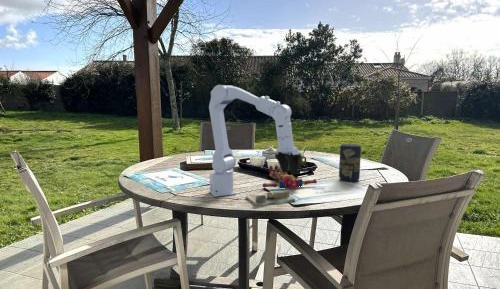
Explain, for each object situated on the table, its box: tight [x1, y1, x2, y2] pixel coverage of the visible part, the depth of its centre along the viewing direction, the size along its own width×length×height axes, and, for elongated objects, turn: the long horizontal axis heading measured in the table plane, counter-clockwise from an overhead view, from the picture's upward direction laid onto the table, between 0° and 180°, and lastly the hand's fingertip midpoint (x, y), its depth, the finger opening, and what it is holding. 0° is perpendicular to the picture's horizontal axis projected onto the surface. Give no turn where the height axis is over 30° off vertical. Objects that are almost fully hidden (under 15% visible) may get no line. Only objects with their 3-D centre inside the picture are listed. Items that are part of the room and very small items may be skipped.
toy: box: [262, 164, 318, 190], centre depth 166 cm, size 25×6×30 cm
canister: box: [338, 142, 362, 182], centre depth 171 cm, size 10×10×18 cm
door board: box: [245, 192, 296, 207], centre depth 141 cm, size 16×11×4 cm
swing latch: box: [266, 190, 290, 199], centre depth 139 cm, size 9×3×2 cm, turn 111°
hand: (289, 172), depth 136 cm, fingers open, 7 cm apart
